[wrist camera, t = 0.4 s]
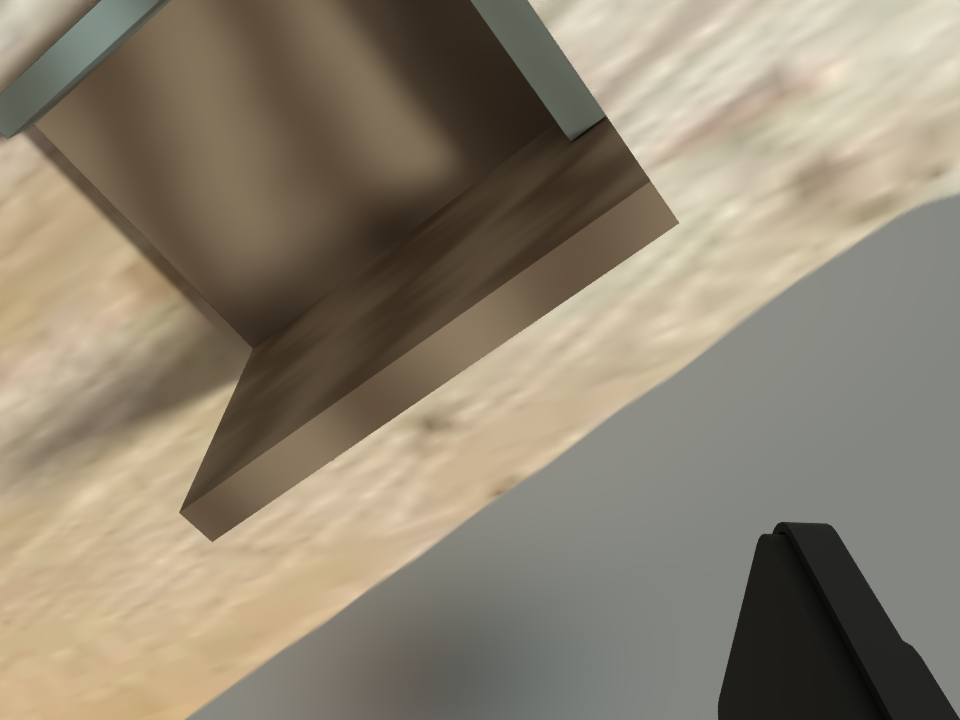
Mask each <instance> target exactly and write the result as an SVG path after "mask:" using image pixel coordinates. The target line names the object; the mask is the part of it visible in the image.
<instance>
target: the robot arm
mask: <svg viewBox="0 0 960 720" xmlns="http://www.w3.org/2000/svg"><path fill="white" fill-rule="evenodd" d="M718 720H960V719H959V717H958V716H957V714H956V713H955V711H954V709H953V708H952V706H951V704H950V703H949V701H948V700H947V698H946V696H945V695H944V693H943V692H942V690H941V688H940V687H939V685H938V684H937V682H936V680H935V679H934V677H933V675H932V674H931V672H930V671H929V669H928V667H927V666H926V665H925V663H924V661H923V659H922V658H921V656H920V655H919V654H918V653H917V651H916V650H915V649H914V648H913V646H911V645H909V644H908V643H906V642H904V641H903V640H902V639H901V637H900V635H899V634H898V632H897V630H896V629H895V627H894V626H893V624H892V622H891V621H890V619H889V618H888V616H887V614H886V612H885V611H884V609H883V607H882V606H881V604H880V603H879V601H878V599H877V598H876V596H875V594H874V593H873V591H872V589H871V588H870V586H869V585H868V583H867V581H866V580H865V578H864V576H863V575H862V573H861V571H860V570H859V568H858V566H857V565H856V563H855V562H854V560H853V558H852V557H851V555H850V553H849V552H848V550H847V548H846V547H845V545H844V543H843V542H842V540H841V539H840V537H839V535H838V534H837V532H836V531H835V529H834V528H833V527H832V526H831V525H828V524H820V523H795V522H794V523H791V522H781V523H778V524H777V525H776V527H775V528H774V530H773V533H772V534H763V535H761V536H760V538H759V540H758V543H757V546H756V550H755V554H754V558H753V562H752V566H751V570H750V574H749V578H748V583H747V587H746V591H745V595H744V599H743V603H742V608H741V611H740V615H739V619H738V623H737V628H736V632H735V636H734V640H733V644H732V648H731V652H730V656H729V660H728V664H727V668H726V672H725V676H724V681H723V684H722V688H721V693H720V697H719V702H718Z"/></svg>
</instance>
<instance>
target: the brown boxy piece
mask: <svg viewBox="0 0 960 720" xmlns="http://www.w3.org/2000/svg"><path fill="white" fill-rule="evenodd" d="M33 125H35V126H36V127H37V128H38V129H39V130H40V131H41V132H42V133H43V134H44V135H45V136H46V137H47V138H48V139H49V140H50V141H51V142H52V143H53V144H54V145H55V146H56V147H57V148H58V149H59V150H60V151H61V152H62V153H63V154H64V155H65V156H66V158H67V159H68V160H69V161H70V162H71V163H72V164H73V165H74V166H75V167H76V168H77V169H78V170H79V171H80V172H81V173H82V174H83V175H84V176H85V177H86V178H87V179H88V180H89V181H90V182H91V183H92V184H93V185H94V186H95V187H96V188H97V189H98V190H99V191H100V192H101V193H102V194H103V195H104V196H105V197H106V198H107V199H108V200H109V201H110V203H111V204H112V205H113V206H114V207H115V208H116V209H117V210H118V211H119V212H120V213H121V214H122V215H123V216H124V217H125V218H126V219H127V220H128V221H129V222H130V223H131V224H132V225H133V226H134V227H135V228H136V229H137V230H138V231H139V232H140V233H141V234H142V235H143V236H144V237H145V238H146V239H147V240H148V241H149V242H150V243H151V244H152V245H153V246H154V247H155V249H156V250H157V251H158V252H159V253H160V254H161V255H162V256H163V257H164V258H165V259H166V260H167V261H168V262H169V263H170V264H171V265H172V266H173V267H174V268H175V269H176V270H177V271H178V272H179V273H180V274H181V275H182V276H183V277H184V278H185V279H186V280H187V281H188V282H189V283H190V284H191V285H192V286H193V287H194V288H195V289H196V290H197V291H198V292H199V294H200V295H201V296H202V297H203V298H204V299H205V300H206V301H207V302H208V303H209V304H210V305H211V306H212V307H213V308H214V309H215V310H216V311H217V312H218V313H219V314H220V315H221V316H222V317H223V318H224V319H225V320H226V321H227V322H228V323H229V324H230V325H231V326H232V327H233V328H234V329H235V330H236V331H237V332H238V333H239V334H240V335H241V336H242V337H243V339H244V340H245V341H246V342H247V343H248V344H249V345H250V346H251V347H252V348H253V351H252V353H251V355H250V358H249V360H248V362H247V364H246V366H245V369H244V371H243V373H242V375H241V377H240V380H239V382H238V384H237V386H236V388H235V391H234V393H233V395H232V397H231V399H230V402H229V404H228V406H227V408H226V411H225V413H224V415H223V417H222V419H221V422H220V424H219V426H218V428H217V430H216V433H215V435H214V437H213V439H212V441H211V444H210V446H209V448H208V450H207V452H206V455H205V457H204V459H203V461H202V463H201V466H200V468H199V470H198V472H197V475H196V477H195V479H194V481H193V483H192V486H191V488H190V490H189V492H188V494H187V497H186V499H185V501H184V503H183V505H182V508H181V510H180V512H179V513H180V514H181V515H182V516H183V517H185V518H186V519H187V520H188V521H189V522H190V523H191V524H192V525H194V526H195V527H196V528H197V529H198V530H199V531H200V532H202V533H203V534H204V535H205V536H206V537H207V538H208V539H209V540H211V541H212V542H213V541H214V540H216V539H217V538H219V537H220V536H222V535H223V534H225V533H226V532H228V531H229V530H231V529H232V528H233V527H235V526H236V525H238V524H239V523H241V522H242V521H244V520H245V519H247V518H248V517H250V516H251V515H253V514H254V513H255V512H257V511H258V510H260V509H261V508H263V507H264V506H266V505H267V504H269V503H270V502H272V501H273V500H275V499H276V498H277V497H279V496H280V495H282V494H283V493H285V492H286V491H288V490H289V489H291V488H292V487H294V486H295V485H296V484H298V483H299V482H301V481H302V480H304V479H305V478H307V477H308V476H310V475H311V474H313V473H314V472H316V471H317V470H318V469H320V468H321V467H323V466H324V465H326V464H327V463H329V462H330V461H332V460H333V459H335V458H336V457H337V456H339V455H340V454H342V453H343V452H345V451H346V450H348V449H349V448H351V447H352V446H354V445H355V444H357V443H358V442H359V441H361V440H362V439H364V438H365V437H367V436H368V435H370V434H371V433H373V432H374V431H376V430H377V429H378V428H380V427H381V426H383V425H384V424H386V423H387V422H389V421H390V420H392V419H393V418H395V417H396V416H398V415H399V414H400V413H402V412H403V411H405V410H406V409H408V408H409V407H411V406H412V405H414V404H415V403H417V402H418V401H419V400H421V399H422V398H424V397H425V396H427V395H428V394H430V393H431V392H433V391H434V390H436V389H437V388H439V387H440V386H441V385H443V384H444V383H446V382H447V381H449V380H450V379H452V378H453V377H455V376H456V375H458V374H459V373H461V372H462V371H463V370H465V369H466V368H468V367H469V366H471V365H472V364H474V363H475V362H477V361H478V360H480V359H481V358H482V357H484V356H485V355H487V354H488V353H490V352H491V351H493V350H494V349H496V348H497V347H499V346H500V345H502V344H503V343H504V342H506V341H507V340H509V339H510V338H512V337H513V336H515V335H516V334H518V333H519V332H521V331H522V330H523V329H525V328H526V327H528V326H529V325H531V324H532V323H534V322H535V321H537V320H538V319H540V318H541V317H543V316H544V315H545V314H547V313H548V312H550V311H551V310H553V309H554V308H556V307H557V306H559V305H560V304H562V303H563V302H564V301H566V300H567V299H569V298H570V297H572V296H573V295H575V294H576V293H578V292H579V291H581V290H582V289H584V288H585V287H586V286H588V285H589V284H591V283H592V282H594V281H595V280H597V279H598V278H600V277H601V276H603V275H604V274H605V273H607V272H608V271H610V270H611V269H613V268H614V267H616V266H617V265H619V264H620V263H622V262H623V261H625V260H626V259H627V258H629V257H630V256H632V255H633V254H635V253H636V252H638V251H639V250H641V249H642V248H644V247H645V246H647V245H648V244H649V243H651V242H652V241H654V240H655V239H657V238H658V237H660V236H661V235H663V234H664V233H666V232H667V231H668V230H670V229H671V228H673V227H674V226H676V225H677V224H679V222H678V220H677V219H676V217H675V216H674V215H673V213H672V212H671V210H670V209H669V207H668V206H667V204H666V203H665V201H664V200H663V198H662V197H661V195H660V194H659V193H658V191H657V190H656V188H655V187H654V185H653V184H652V182H651V181H650V179H649V178H648V176H647V175H646V173H645V172H644V170H643V169H642V168H641V166H640V165H639V163H638V162H637V160H636V159H635V157H634V156H633V154H632V153H631V151H630V150H629V148H628V147H627V146H626V144H625V143H624V141H623V140H622V138H621V137H620V135H619V134H618V132H617V131H616V129H615V128H614V126H613V125H612V124H611V122H610V121H609V119H608V118H607V116H606V115H605V113H604V112H603V110H602V109H601V107H600V106H599V104H598V103H597V102H596V100H595V99H594V97H593V96H592V94H591V93H590V91H589V90H588V88H587V87H586V85H585V84H584V82H583V81H582V80H581V78H580V77H579V75H578V74H577V72H576V71H575V69H574V68H573V66H572V65H571V63H570V62H569V61H568V59H567V58H566V56H565V55H564V53H563V52H562V50H561V49H560V47H559V46H558V44H557V43H556V41H555V40H554V39H553V37H552V36H551V34H550V33H549V31H548V30H547V28H546V27H545V25H544V24H543V22H542V21H541V20H540V18H539V17H538V15H537V14H536V12H535V11H534V9H533V8H532V6H531V5H530V3H529V2H528V0H101V1H100V2H99V3H98V4H97V5H96V6H95V7H94V8H93V9H92V10H90V11H89V12H88V13H87V14H86V15H85V16H84V17H83V18H82V19H81V20H80V21H79V22H78V23H77V24H76V25H74V26H73V27H72V28H71V29H70V30H69V31H68V32H67V33H66V34H65V35H64V36H63V37H62V38H61V39H59V40H58V41H57V42H56V43H55V44H54V45H53V46H52V47H51V48H50V49H49V50H48V51H47V52H46V53H44V54H43V55H42V56H41V57H40V58H39V59H38V60H37V61H36V62H35V63H34V64H33V65H32V66H31V67H30V68H28V69H27V70H26V71H25V72H24V73H23V74H22V75H21V76H20V77H19V78H18V79H17V80H16V81H15V82H13V83H12V84H11V85H10V86H9V87H8V88H7V89H6V90H5V91H4V92H3V93H2V94H1V95H0V132H1V133H2V134H3V135H4V136H5V137H6V138H7V139H9V138H11V137H13V136H14V135H16V134H18V133H20V132H22V131H24V130H26V129H28V128H29V127H31V126H33Z"/></svg>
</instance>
